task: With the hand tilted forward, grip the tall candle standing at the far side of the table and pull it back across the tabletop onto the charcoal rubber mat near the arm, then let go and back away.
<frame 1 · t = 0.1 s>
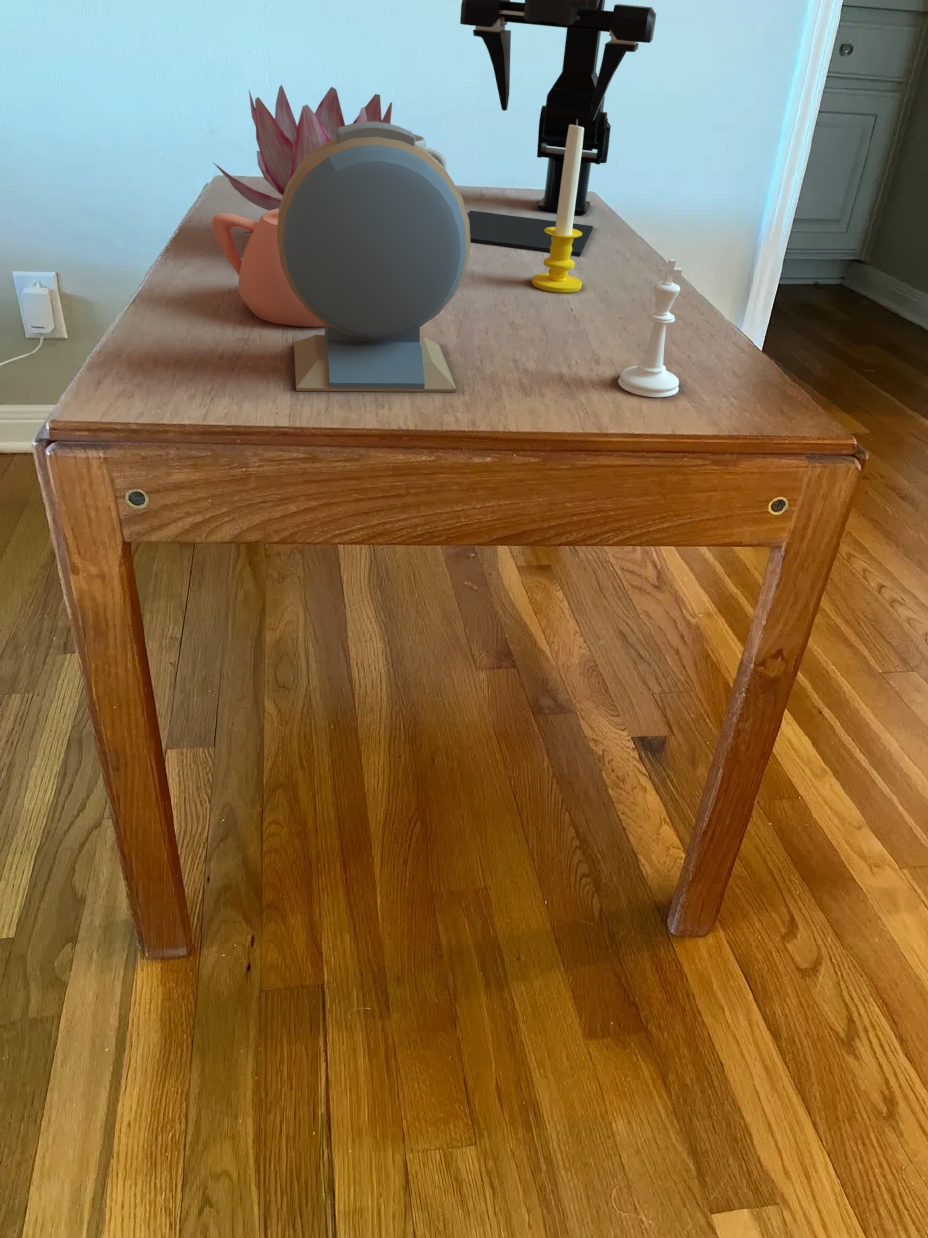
hand: (547, 114, 98), 15 cm above the table, tool pointing down, fingers open, 9 cm apart
candle: (556, 287, 99), on the table
cup: (403, 206, 124), on the table
alarm clock: (372, 370, 77), on the table
teapot: (316, 311, 87), on the table
decorative flower: (322, 252, 104), on the table
mat: (522, 233, 116), on the table
chess piece: (647, 388, 78), on the table
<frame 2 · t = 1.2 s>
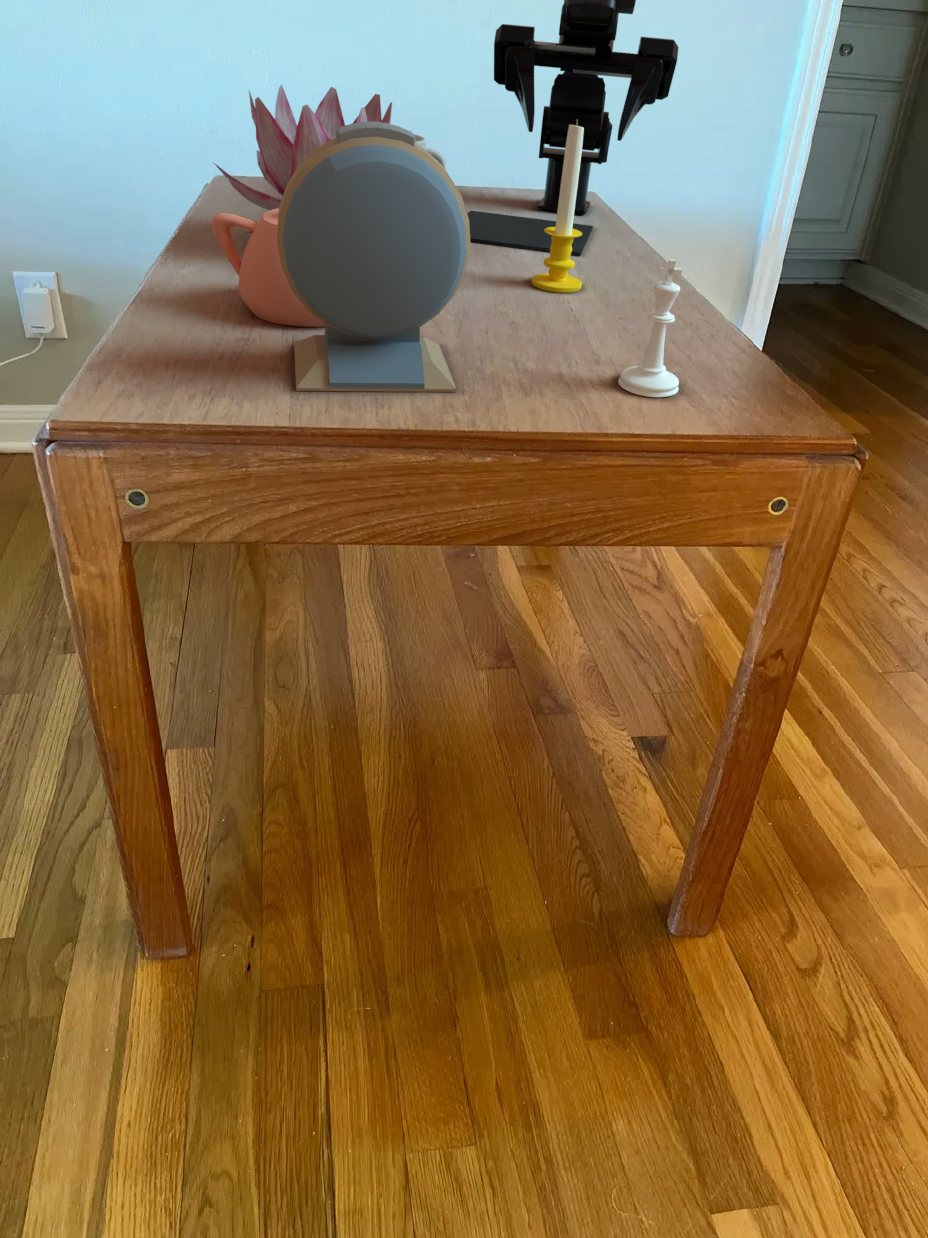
hand: (575, 133, 98), 13 cm above the table, tool tilted 45°, fingers open, 9 cm apart
nothing on the table moved.
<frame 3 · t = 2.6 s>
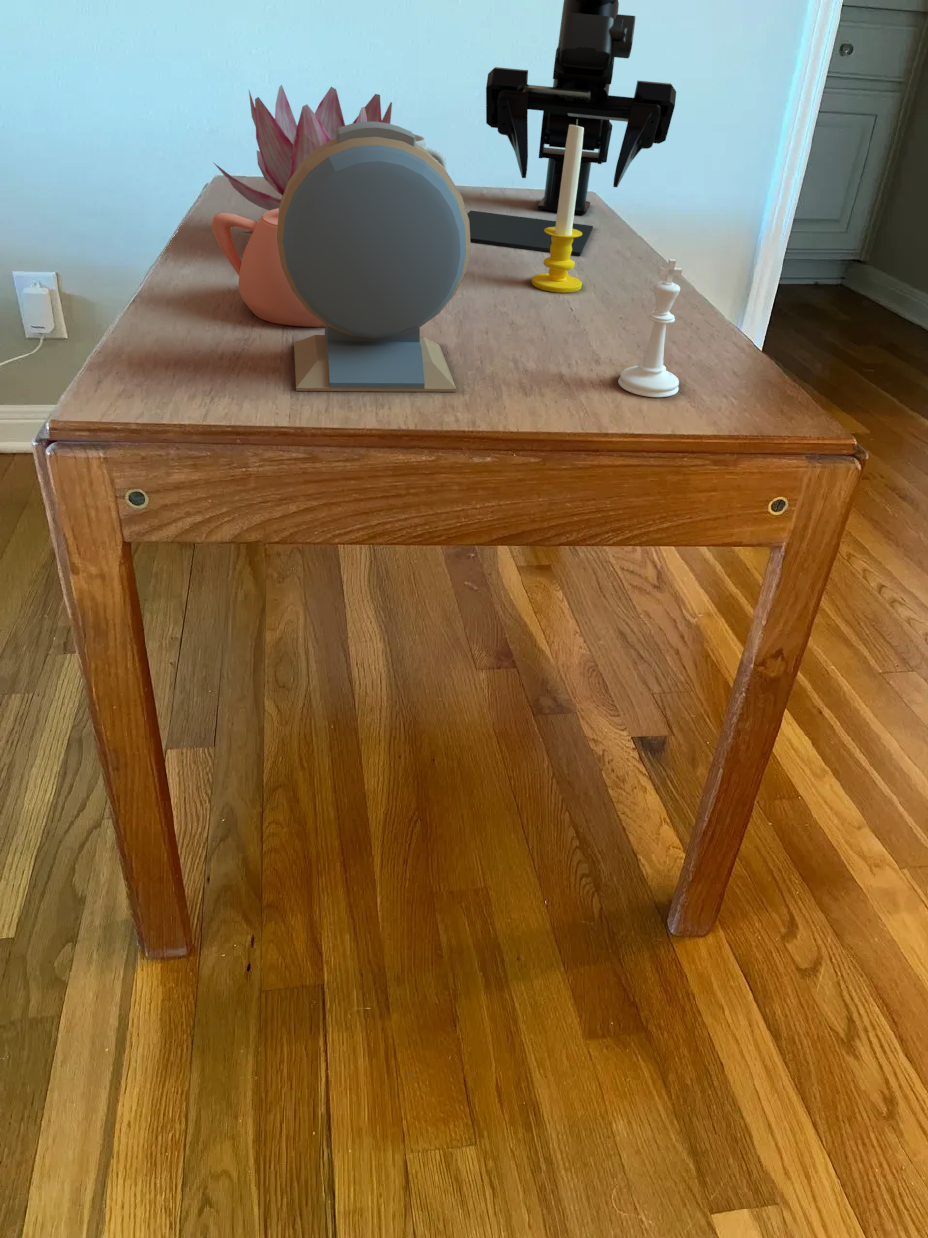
hand: (569, 179, 95), 10 cm above the table, tool tilted 45°, fingers open, 9 cm apart
nothing on the table moved.
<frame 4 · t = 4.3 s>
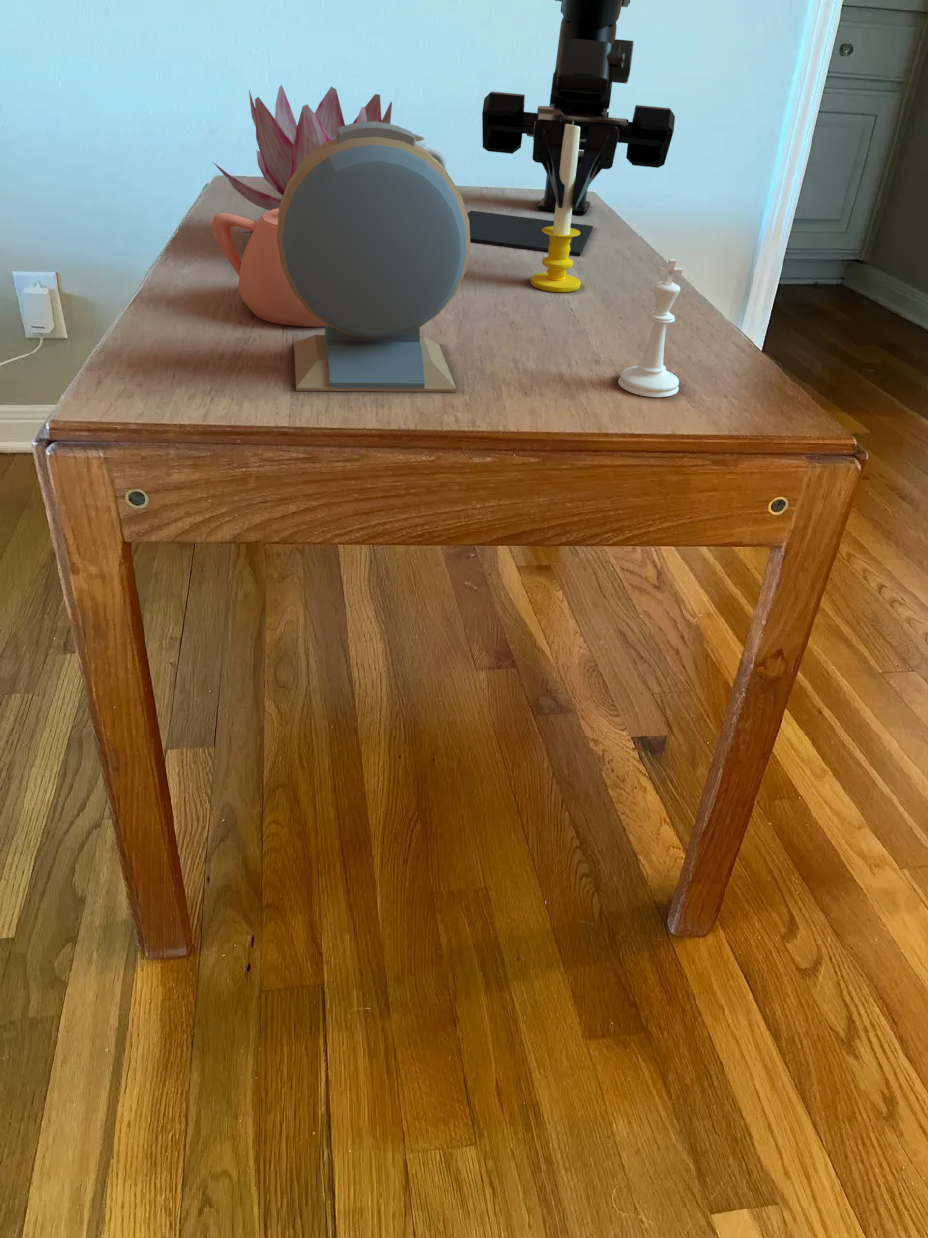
hand: (567, 205, 93), 8 cm above the table, tool tilted 45°, fingers closed on candle
candle: (555, 286, 99), on the table, touching gripper
everything else where it was.
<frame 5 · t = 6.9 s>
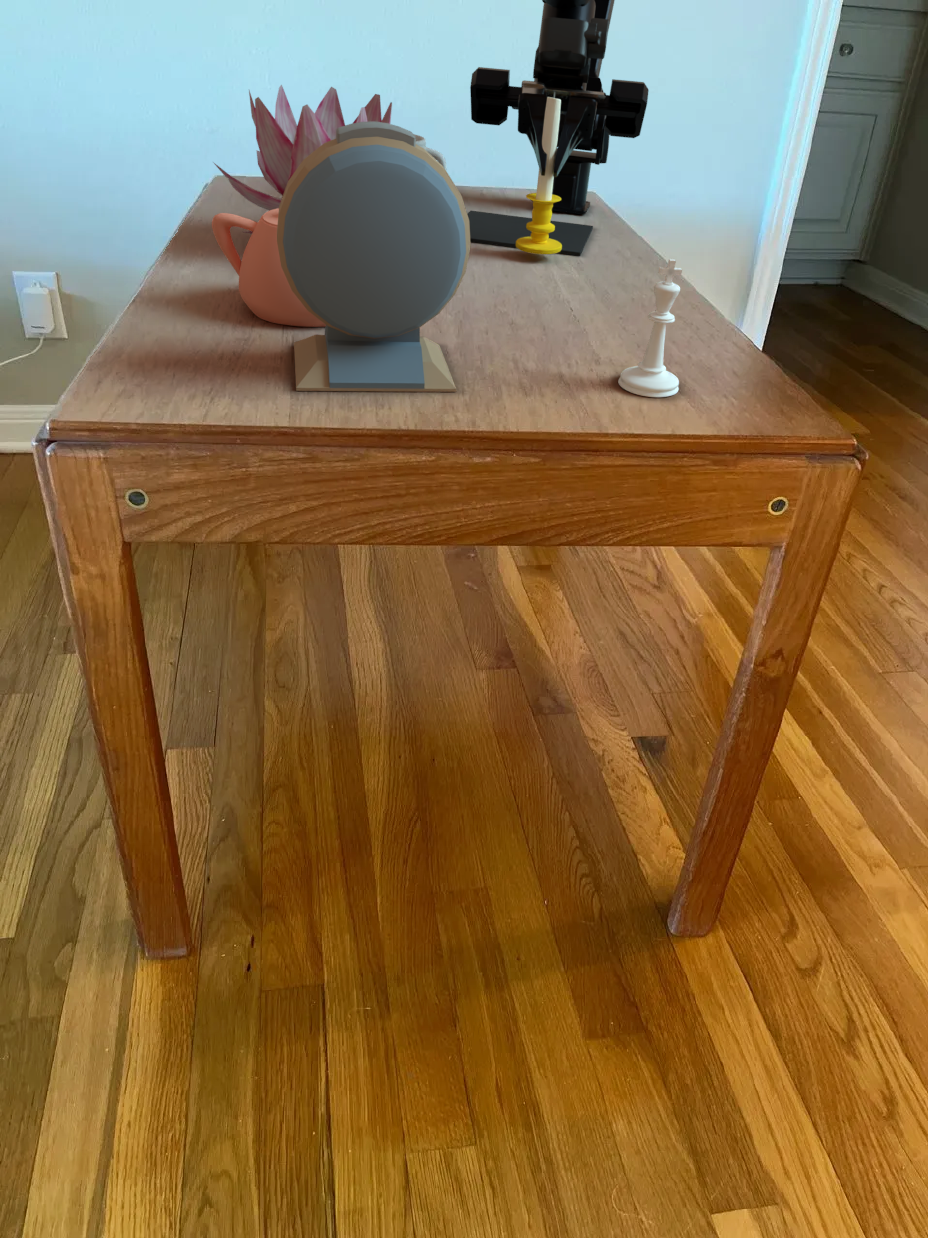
hand: (549, 173, 101), 9 cm above the table, tool tilted 45°, fingers closed on candle
candle: (538, 249, 107), point 1 cm above the table, touching gripper
everything else where it was.
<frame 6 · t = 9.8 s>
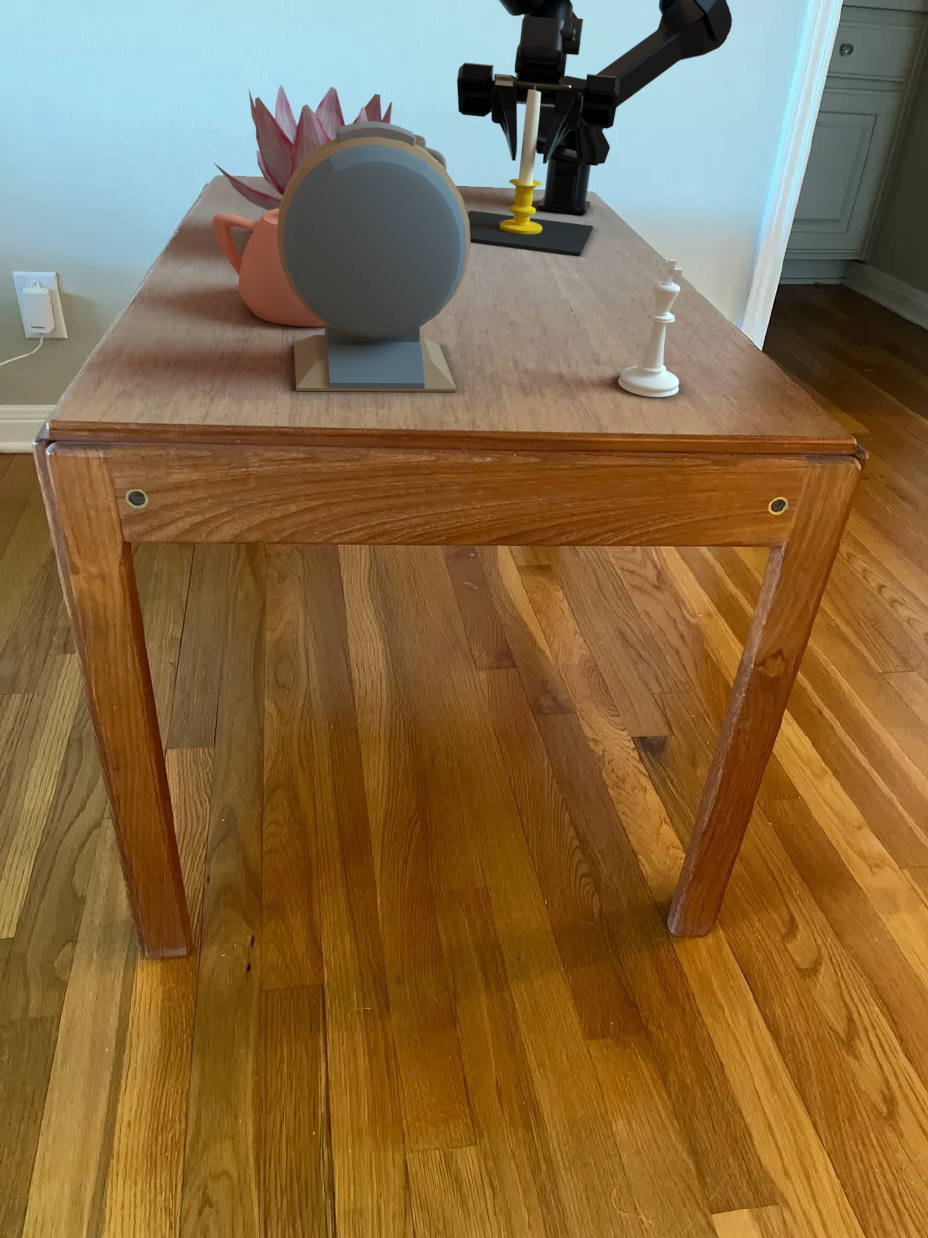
hand: (529, 159, 110), 9 cm above the table, tool tilted 45°, fingers open, 3 cm apart
candle: (520, 230, 116), resting on mat
everything else where it was.
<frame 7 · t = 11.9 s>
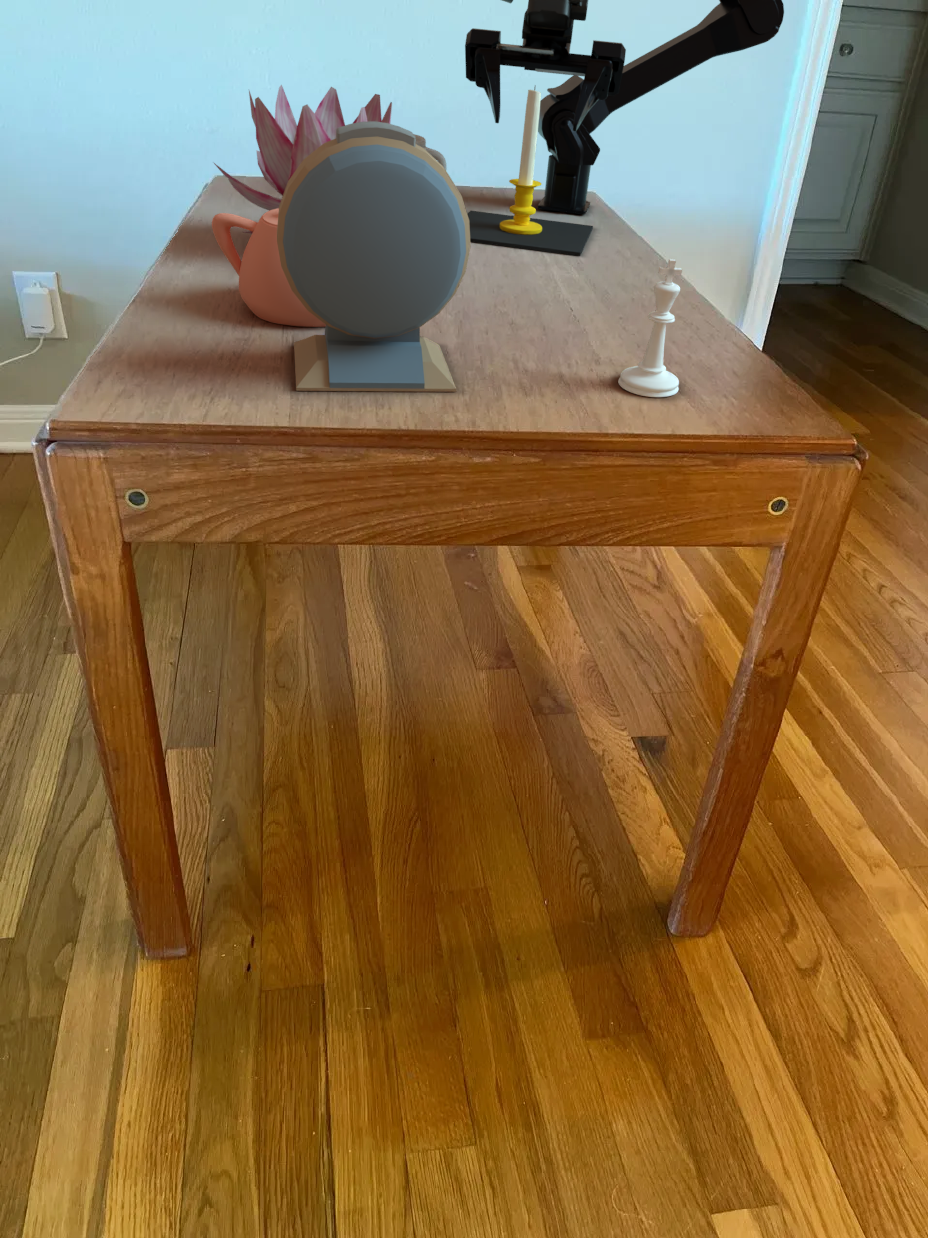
hand: (535, 124, 112), 12 cm above the table, tool tilted 45°, fingers open, 9 cm apart
nothing on the table moved.
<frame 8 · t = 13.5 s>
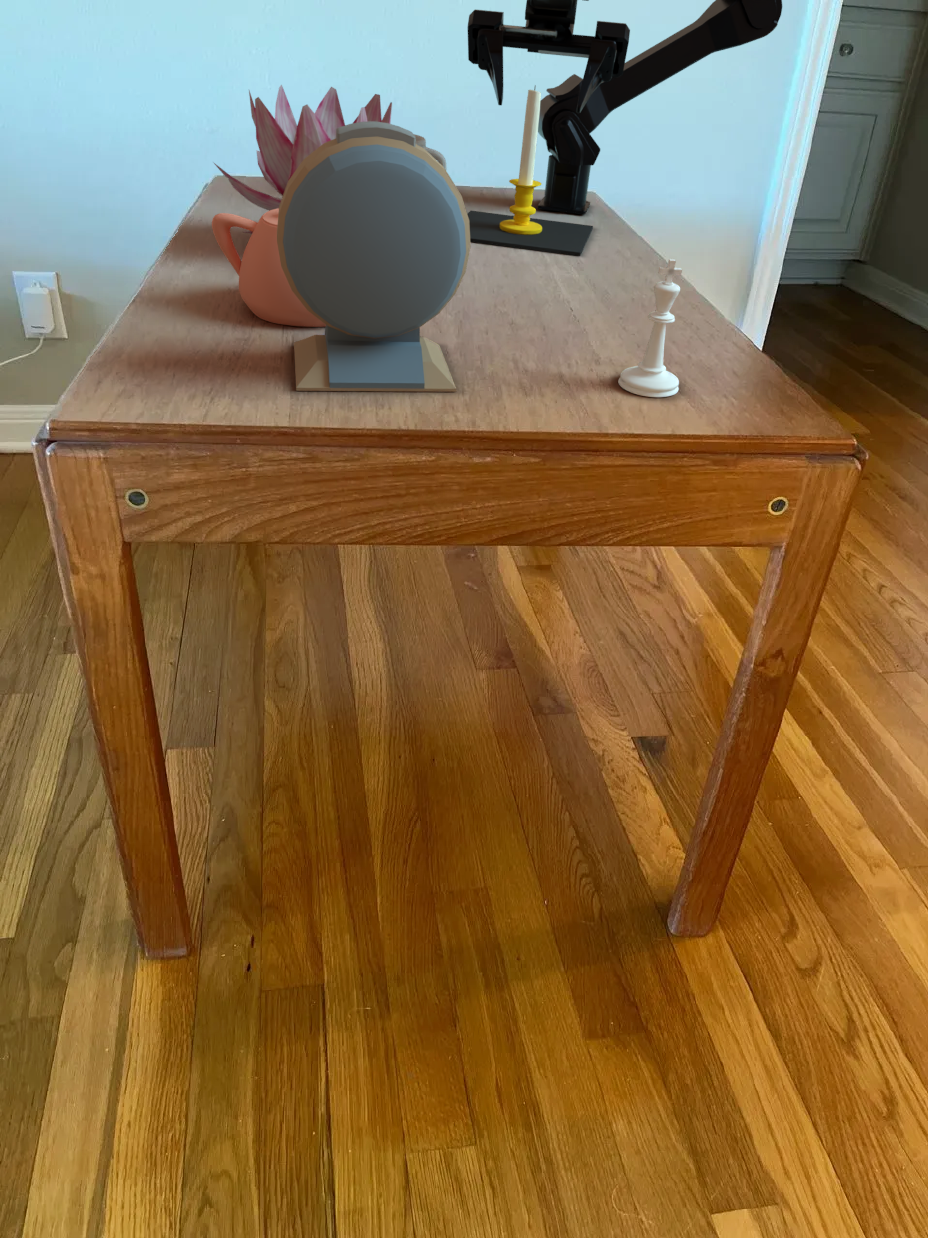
hand: (539, 106, 110), 14 cm above the table, tool tilted 45°, fingers open, 9 cm apart
nothing on the table moved.
at the end: candle inside the target area on the mat (0.4 cm from its centre), point 0.2 cm above the mat's base; candle tilted 0°; candle moved 21.5 cm from its start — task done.
